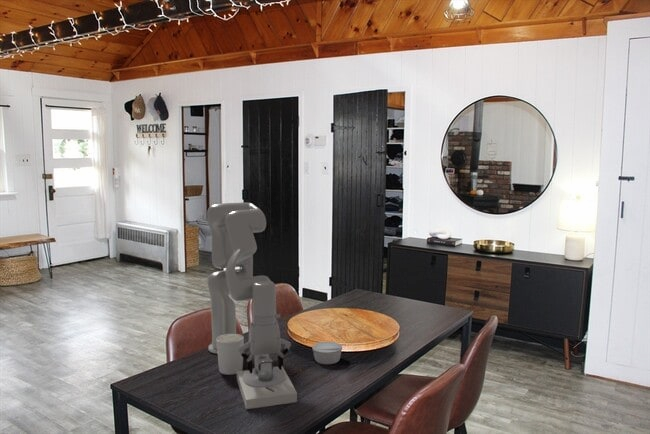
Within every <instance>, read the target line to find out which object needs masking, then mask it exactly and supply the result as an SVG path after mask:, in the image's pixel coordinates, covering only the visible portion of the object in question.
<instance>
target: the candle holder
mask: <svg viewBox="0 0 650 434" xmlns="http://www.w3.org/2000/svg"><path fill="white" fill-rule="evenodd" d="M244 341H245V337H244V335H243V334H240V333H236V334H233V333H232V334H224V335H220V336H218V337H217V338H216V342H217V353H218V354H217V362H218V363H217V364H218V371H219V373H221V374H222V375H228V376H231V375H237V371H243V368H244V358H243V357H242V355H241V354H240V352H239V350H238V348H239V347H240V346H242V345H243V344H245V343H244Z"/></svg>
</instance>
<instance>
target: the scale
mask: <svg viewBox="0 0 650 434" xmlns="http://www.w3.org/2000/svg"><path fill="white" fill-rule="evenodd" d="M236 382H237V384H238V387H239V391H240V394H241V397H242V401H243V404H244V407H245V410H250V409H258V408H265V407H271V406H272V407H273V406H278V405H285V404H287V405H288V404H293V403H297V402H298V392H297V390H296V389H295V386H294V384H293V383H292V380H291V379H290V377H289V376H288V374H287V372H286V370H285V369H284V365H283V366H282V370H279V368H278V366H273V380H271V381H268V382H262V381H259V380H258V374H256V373H255V367H252V373H250V372H249V370H247V369H246V370H242V371H237V374H236Z"/></svg>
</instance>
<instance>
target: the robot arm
mask: <svg viewBox="0 0 650 434" xmlns="http://www.w3.org/2000/svg"><path fill="white" fill-rule="evenodd" d="M206 219H207V223H208V226H209V230H210V232H211V262H212V265H213V267H214V268H216V269H225V270H218V271H214V272H212V273H211V274H210V275H209V276H208V278H207V286H208V292H209V297H210V311H211V312H210V314H211V315H210V316H211V343H210V344H209V345H208V351H209V352H210V353H212V354H215V355H218V353H217V342H216V338H217V337H218V336H220V335H224V334H232V333H233V334H237V320H236V317H237V313H236V312H237V311H236V308H237V307H236V304H235V302H242V301H250V300H251V303H252V304H251V306H252V307H251V308H252V311H251V312H252V322H250V324H249V328H248V329H249V331H248V341H247V342H245V343H244V344H243V345H242V346H240V347H239V348H238V350H239V352H240V354H241V355H242V357H243V360H245V361H246V370H249V372H250V373H252V369H253V358H254V355H265V354H269V355H271V354H272V355H273V354H277V367H278V368H279V370H282V366H283V367H284V358H285V356H286V354H287V353H288V352H289V350H290V348H291V346H292V343H291V342H290V341H288V340H286V339H283V338H281V332H280V331H281V330H280V326H279V323H278V322H279V321H278V319H281V314H280V313H277V303H276V301H277V297H276V294H277V293H276V292H277V291H276V284H275V283H274V281H272V280H271V279H270V278H269V276H267V275H256V276H253V275H254V271H253V270H254V268H253V267H254V254H255V253H256V252H257V249H258V245H257V242H256V239H255V236H254V233H262V232H263V231H265V229H266V227H267V219H266V216H265V213H264V212H263V210H261V209H260V208H259V207H257V205H255V204H254V203H252V202H224V203H223V202H222V203H216V204H212V205H210V206H209V207H208V209H207V211H206ZM238 267H239V268H238ZM236 268H237V269H236ZM282 345H284V347H283V349H282ZM246 349H248V353H246V352H245V350H246ZM281 349H282V350H281Z"/></svg>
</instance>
